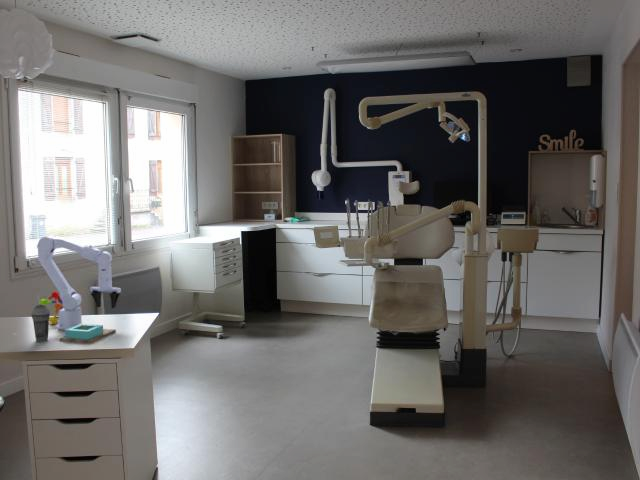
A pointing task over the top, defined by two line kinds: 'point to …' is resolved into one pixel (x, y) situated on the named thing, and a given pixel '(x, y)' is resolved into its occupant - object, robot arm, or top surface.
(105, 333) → the peg board
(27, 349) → the top surface
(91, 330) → the loop
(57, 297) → the educational toy
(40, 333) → the beverage cup
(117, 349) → the top surface
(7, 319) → the top surface
